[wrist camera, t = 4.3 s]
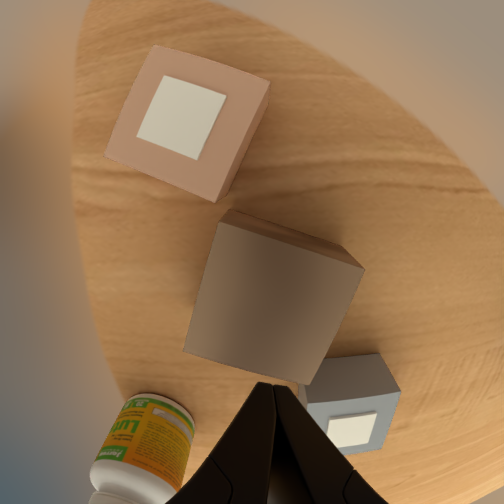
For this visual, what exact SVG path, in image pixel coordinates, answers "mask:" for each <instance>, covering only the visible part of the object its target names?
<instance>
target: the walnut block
mask: <svg viewBox="0 0 504 504" xmlns="http://www.w3.org/2000/svg"><path fill="white" fill-rule="evenodd" d="M364 271H365V269H364V268H363V267H362V266H361V265H360V264H359V263H358V262H357V261H356V260H355V259H354V258H353V257H352V256H351V255H350V254H349V253H348V252H347V251H346V250H345V249H344V248H343V247H342V246H339V245H336V244H333V243H331V242H328V241H325V240H322V239H319V238H316V237H313V236H310V235H307V234H304V233H301V232H298V231H295V230H292V229H289V228H286V227H283V226H280V225H277V224H274V223H271V222H268V221H265V220H262V219H259V218H256V217H253V216H250V215H246V214H243V213H240V212H237V211H234V210H231V209H229V210H228V211H227V213H226V214H225V215H224V216H223V217H222V218H221V219H220V221H219V222H218V226H217V229H216V232H215V236H214V239H213V243H212V246H211V249H210V253H209V256H208V260H207V263H206V267H205V270H204V274H203V277H202V281H201V284H200V288H199V292H198V295H197V299H196V303H195V306H194V310H193V314H192V318H191V321H190V325H189V329H188V333H187V337H186V340H185V344H184V348H183V352H186V353H189V354H192V355H196V356H199V357H202V358H205V359H208V360H211V361H215V362H218V363H221V364H225V365H228V366H232V367H235V368H239V369H243V370H246V371H250V372H254V373H258V374H261V375H265V376H269V377H274V378H278V379H282V380H286V381H291V382H295V383H300V384H304V385H310V383H311V381H312V379H313V378H314V376H315V374H316V372H317V370H318V368H319V366H320V364H321V363H322V361H323V359H324V357H325V355H326V353H327V351H328V349H329V347H330V345H331V343H332V341H333V339H334V337H335V335H336V333H337V331H338V329H339V327H340V325H341V323H342V321H343V318H344V316H345V314H346V312H347V310H348V308H349V305H350V303H351V301H352V299H353V297H354V294H355V292H356V290H357V288H358V285H359V283H360V281H361V278H362V276H363V274H364Z"/></svg>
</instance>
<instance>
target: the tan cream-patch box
mask: <svg viewBox="0 0 504 504" xmlns="http://www.w3.org/2000/svg"><path fill="white" fill-rule="evenodd" d="M270 85H271V82H270V81H268V80H265V79H263V78H260V77H258V76H255V75H253V74H250V73H247V72H245V71H242V70H239V69H236V68H234V67H231V66H228V65H225V64H222V63H219V62H216V61H213V60H210V59H206V58H203V57H200V56H196V55H193V54H189V53H186V52H182V51H179V50H175V49H171V48H167V47H163V46H159V45H153V46H152V48H151V50H150V52H149V54H148V56H147V58H146V59H145V61H144V63H143V65H142V67H141V69H140V71H139V73H138V75H137V77H136V79H135V81H134V83H133V85H132V88H131V90H130V92H129V94H128V96H127V98H126V101H125V103H124V105H123V107H122V110H121V112H120V114H119V117H118V119H117V122H116V124H115V126H114V129H113V132H112V134H111V137H110V139H109V142H108V145H107V147H106V150H105V153H104V155H103V157H105V158H108V159H110V160H113V161H115V162H118V163H120V164H123V165H125V166H128V167H130V168H133V169H135V170H138V171H140V172H142V173H145V174H147V175H150V176H152V177H155V178H157V179H159V180H162V181H164V182H167V183H169V184H171V185H174V186H176V187H178V188H181V189H183V190H185V191H188V192H190V193H192V194H195V195H197V196H199V197H202V198H204V199H206V200H209V201H211V202H213V203H216V202H217V201H219V200H220V199H222V198H223V197H225V196H226V195H227V193H228V191H229V189H230V186H231V184H232V182H233V180H234V177H235V175H236V173H237V171H238V168H239V166H240V164H241V162H242V160H243V157H244V155H245V153H246V151H247V149H248V147H249V144H250V142H251V140H252V138H253V136H254V134H255V131H256V129H257V127H258V125H259V123H260V121H261V119H262V117H263V115H264V113H265V110H266V108H267V106H268V104H269V95H270Z"/></svg>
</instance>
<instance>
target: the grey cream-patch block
mask: <svg viewBox="0 0 504 504" xmlns="http://www.w3.org/2000/svg"><path fill="white" fill-rule="evenodd" d="M400 394H401V390H400V388H399V387H398V385H397V383H396V381H395V379H394V378H393V376H392V374H391V372H390V371H389V369H388V367H387V365H386V364H385V362H384V360H383V359H382V357H381V355H380V353H376V354H367V355H358V356H348V357H337V358H325V359H323V361H322V363H321V364H320V366H319V368H318V370H317V372H316V374H315V376H314V378H313V379H312V381H311V383H310V385H304V384H300V383H299V386H298V400H299V401H300V403H301V404H302V405H303V406H304V408H305V409H306V410H307V411H308V413H309V414H310V415H311V416H312V418H313V419H314V420H315V421H316V423H317V424H318V425H319V426H320V428H321V429H322V430H323V431H324V433H325V434H326V435H327V436H328V437H329V439H330V440H331V441H332V442H333V444H334V445H335V446H336V447H337V448H338V450H339V451H340V452H341V453H342V454H343V455H350V454H356V453H362V452H368V451H373V450H378V449H381V448H382V446H383V443H384V440H385V438H386V435H387V433H388V430H389V427H390V424H391V421H392V418H393V416H394V413H395V410H396V407H397V403H398V400H399V397H400Z"/></svg>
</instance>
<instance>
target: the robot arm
mask: <svg viewBox="0 0 504 504" xmlns="http://www.w3.org/2000/svg"><path fill="white" fill-rule="evenodd" d="M353 469H354V467H353V466H352V465H351V464H350V463H349V461H348V460H347V459H346V458H345V457H344V455H343V454H342V453H341V452H340V451H339V450H338V448H337V447H336V446H335V445H334V444H333V442H332V441H331V440H330V439H329V437H328V436H327V435H326V434H325V433H324V431H323V430H322V429H321V428H320V426H319V425H318V424H317V423H316V421H315V420H314V419H313V418H312V416H311V415H310V414H309V413H308V411H307V410H306V409H305V408H304V406H303V405H302V404H301V403H300V401H299V400H298V399H297V397H296V396H295V395H294V394H293V392H292V391H291V390H290V388H289V387H287V386H282V385H273V386H272V384H270V383H264V382H258V383H257V384H256V385H255V387H254V388H253V390H252V391H251V393H250V395H249V396H248V398H247V399H246V401H245V402H244V404H243V405H242V407H241V408H240V410H239V412H238V413H237V415H236V416H235V418H234V419H233V421H232V422H231V424H230V425H229V427H228V428H227V429H226V431H225V432H224V434H223V435H222V437H221V438H220V440H219V441H218V443H217V444H216V445H215V447H214V448H213V450H212V451H211V453H210V454H209V455H208V457H207V458H206V459H205V461H204V462H203V463H202V465H201V466H200V467H199V469H198V470H197V471H196V472H195V474H194V475H193V476H192V477H191V479H190V480H189V481H188V482H187V483H186V484H185V485H184V486H183V487H182V488H181V489H180V490H179V491H178V492H177V493H176V494H175V495H174V496H173V497H172V498H171V499H169V500H168V501H167V502H166V503H165V504H389V503H387V502H386V501H385V500H384V499H383V498H382V497H381V496H380V495H379V494H378V493H377V492H376V491H375V490H374V489H373V488H372V487H371V486H370V485H369V484H368V483H367V482H366V481H365V480H364V479H363V478H362V476H361V475H360V474H359V473H358V472H357V471H356V470H353Z"/></svg>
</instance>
